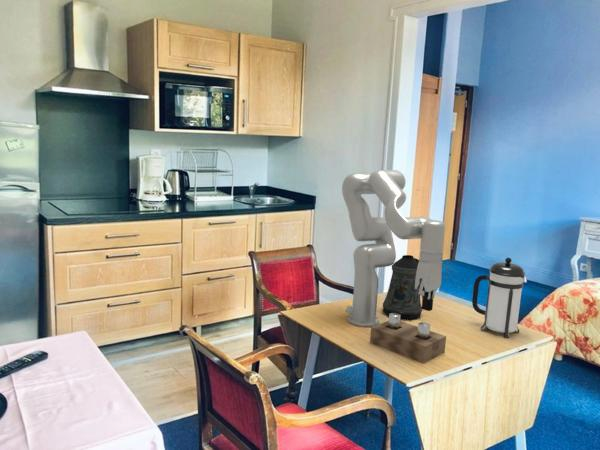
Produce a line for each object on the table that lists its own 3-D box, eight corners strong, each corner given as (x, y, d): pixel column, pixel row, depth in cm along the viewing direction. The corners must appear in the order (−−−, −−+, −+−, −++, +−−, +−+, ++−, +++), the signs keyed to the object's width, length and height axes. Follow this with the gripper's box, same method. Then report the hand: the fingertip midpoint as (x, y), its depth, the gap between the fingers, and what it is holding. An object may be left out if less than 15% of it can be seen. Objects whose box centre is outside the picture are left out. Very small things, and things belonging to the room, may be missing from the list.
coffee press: (512, 325, 210) (521, 254, 205) (525, 340, 194) (535, 263, 189) (469, 321, 212) (477, 251, 207) (478, 336, 196) (487, 260, 191)
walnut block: (369, 343, 184) (371, 327, 183) (391, 333, 194) (393, 318, 193) (423, 363, 169) (425, 346, 168) (444, 352, 179) (446, 336, 178)
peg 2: (414, 339, 177) (416, 324, 176) (420, 336, 180) (422, 321, 179) (424, 342, 174) (426, 327, 173) (430, 339, 177) (432, 324, 176)
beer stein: (379, 317, 212) (384, 258, 208) (385, 303, 230) (390, 249, 226) (420, 323, 208) (425, 263, 203) (423, 308, 226) (428, 253, 222)
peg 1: (385, 329, 185) (387, 314, 184) (392, 326, 188) (393, 312, 187) (395, 332, 182) (396, 317, 181) (401, 329, 185) (402, 315, 184)
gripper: (432, 252, 180) (428, 303, 183) (409, 258, 169) (405, 311, 172) (452, 256, 175) (447, 308, 177) (429, 262, 164) (425, 317, 167)
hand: (426, 309), depth 175 cm, fingers closed
